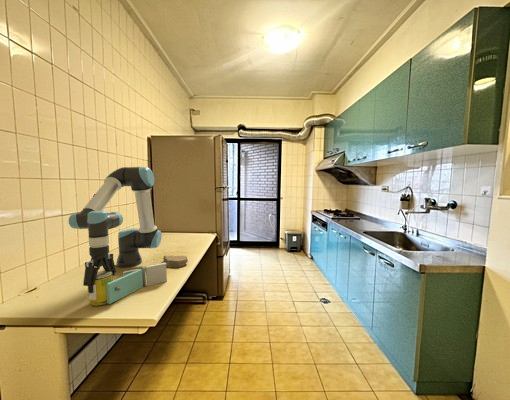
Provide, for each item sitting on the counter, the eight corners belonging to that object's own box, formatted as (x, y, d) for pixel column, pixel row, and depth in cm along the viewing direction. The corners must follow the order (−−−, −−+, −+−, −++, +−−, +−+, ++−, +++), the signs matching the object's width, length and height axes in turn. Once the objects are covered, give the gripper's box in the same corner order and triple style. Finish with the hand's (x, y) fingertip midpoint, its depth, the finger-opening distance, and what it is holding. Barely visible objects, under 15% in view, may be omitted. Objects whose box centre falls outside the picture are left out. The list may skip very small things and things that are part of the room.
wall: (123, 289, 124) (122, 269, 123) (165, 279, 136) (164, 261, 135) (124, 291, 121) (124, 271, 120) (166, 281, 133) (166, 263, 132)
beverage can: (116, 295, 116) (115, 270, 115) (109, 304, 107) (108, 277, 106) (95, 297, 114) (93, 272, 113) (86, 306, 105) (84, 279, 104)
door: (107, 303, 108) (106, 283, 107) (140, 286, 126) (139, 269, 125) (112, 304, 107) (111, 284, 106) (145, 287, 125) (144, 269, 124)
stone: (188, 267, 156) (188, 260, 156) (163, 270, 151) (163, 263, 151) (186, 259, 172) (186, 253, 172) (163, 261, 167) (163, 255, 167)
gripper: (109, 239, 120) (111, 283, 121) (69, 252, 99) (73, 305, 100) (123, 240, 119) (125, 284, 120) (86, 252, 97) (89, 306, 99)
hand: (101, 294), depth 110 cm, fingers closed on beverage can, 9 cm apart
